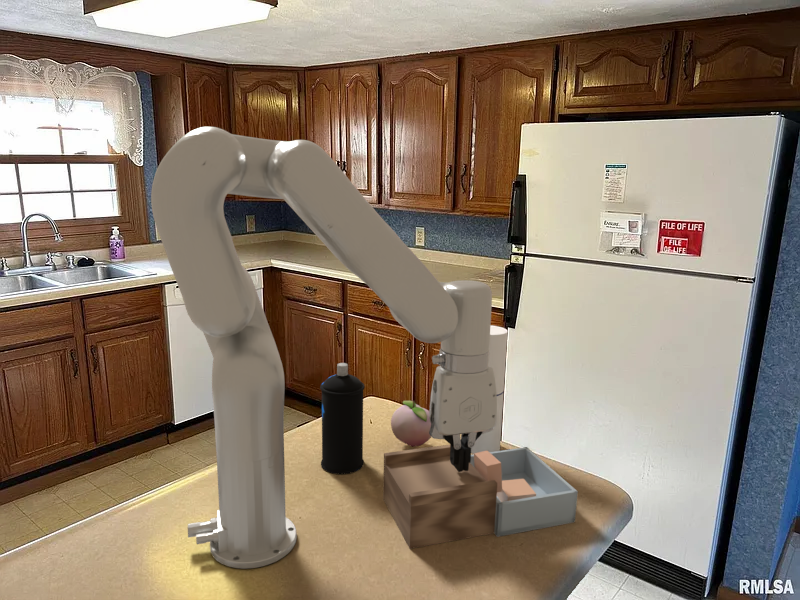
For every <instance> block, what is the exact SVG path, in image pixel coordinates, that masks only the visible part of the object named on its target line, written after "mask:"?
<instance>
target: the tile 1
mask: <svg viewBox="0 0 800 600" xmlns="http://www.w3.org/2000/svg"><path fill="white" fill-rule="evenodd" d="M474 466H475V469H476V470H477V471H478V472H479V473H480V474H481V475H482V477H483V478H484V479H485V480H486V481H491V480H495V481H496V482H497V492H501V491H502V472H501V462H500V461H499V460H497V459H496V458H495V457H494V456H493V455H492V454H491V453H490V452H489V451H483V452H478V453H474Z"/></svg>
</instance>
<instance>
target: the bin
mask: <svg viewBox="0 0 800 600" xmlns="http://www.w3.org/2000/svg"><path fill="white" fill-rule="evenodd" d="M490 453H491V454H492V455H493V456H494V457H495V458H496V459H497V460H499V461H500V462H501V472H502V481H504V480H514V479H525V481H526V482H527V483H528V484H529V486H530V487H531V488H532V489H533V490H534V492H535V493H536V496H535V497H529V498H523V499H517V500H511V501H505V502H501V501H500V500H499V498H498V497H497V498H496V513H495V529H494V533H493V534H495V536H496V537H497V538H498V537H503V536H504V537H505V536H508V535H515V534H520V533H525V532H530V531H537V530H540V529H545V528H550V527H551V528H552V527H556V526H562V525H567V524H573V523H575V522H576V513H577V505H578V504H577V501H578V493H579V491H578V490H577V489H576V488H575V487H574V486H572V485H571V483H569V482H567V480H565V479H564V478H563V477H562V476H561V475H559V474H558V472H556V471H555V470H554V469H553V468H552V467H550V466H549V465H548V464H547V463H546V462H545V461H543V460H542V459H541V458H540V457H539V456H538V455H537V454H535V452H533V451H532V450H531V449H530V448H529V447H528V446H524V447H518V448H509V449H504V450H500V451H495V452H490ZM470 463H471V464H472V465H473V467H474V468H475V466H474V454H473V453H472V454H471V462H470Z"/></svg>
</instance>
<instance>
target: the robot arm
mask: <svg viewBox="0 0 800 600" xmlns="http://www.w3.org/2000/svg"><path fill="white" fill-rule="evenodd" d="M150 194H151V195H150V196H151V197H150V201H151V210H152V216H153V220H154V223H155V226H156V230H157V232H158V235H159V237H160V240H161V243H162V246H163V248H164V252H165V254H166V257H167V260H168V262H169V265H170V269H171V271H172V274H173V276H174V280H175V282H176V284H177V286H178V289H179V292H180V294H181V296H182V300H183V303H184V306H185V310H186V313H187V315H188V316H189V319H190V320H191V322H192V323H193V324H194V326H195V327H196V328H197V329H199V330H200V331H201V332H202V333H203V335H204V337H205V340H206V343H207V345H208V347H209V350H210V351H211V352H210V353H211V354H212V358H213V360H212V370H211V392H212V393H211V395H212V404H213V405H212V407H213V417H214V419H213V420H214V436H215V438H214V439H215V451H216V466H217V467H216V469H217V473H216V474H217V490H218V491H217V492H218V508H219V509H217V510H216V516H217V517H211V518H210V520H208V521H198V522H197V521H196V522H192V523H187V537H188V538H189V539H190V538H196V539H195V540H196V545H200V544H201V545H202V544H206V543H209V549H210V553H211V555H212V557H213V558H214V560H215V561H216V562H219V563H220V564H221V565H225V566H226V567H230V568H234V569H254V568H255V569H256V568H260V567H261V568H262V567H264V566H265V567H266V566H269V565H271V564H273V563H276V562H277V561H279V560H281V559H283V558H284V557H285V556H286V555H288V554H289V553H290V552H291V551H292V550H293V548H294V547H295V545H296V543H297V538H298V537H297V529H296V525H295V524H294V523H293V521H292V520H291V519H289V518H288V517H287V516H286V513H287V512H286V483H285V482H286V480H285V479H286V477H285V474H286V473H285V469H286V468H285V433H284V432H285V431H284V429H285V428H284V427H285V426H284V424H285V423H284V414H285V413H284V410H285V389H286V388H285V387H286V386H285V385H286V384H285V372H284V367H283V363H282V360H281V357H280V352H279V350H278V346H277V344H276V341H275V338H274V335H273V333H272V330H271V328H270V325H269V323H268V320H267V317H266V313H265V311H264V308H263V305H262V303H261V301H260V298H259V294H258V292H257V289H256V286H255V283H254V280H253V278H252V277H251V274H250V273H249V272H248V270H247V269H246V268H245V267H244V266H243V264H242V263H241V261H240V258H239V256H238V253H237V249H236V247H235V244H234V240H233V237H232V234H231V232H230V229H229V226H228V223H227V220H226V217H225V211H224V203H225V199H226V197H227V195H237V196H244V197H245V196H246V197H254V198H255V197H256V198H262V199H263V198H264V199H274V200H275V199H279V200H283V201H285V202H286V204H287V205H288V206H289V207H290V208H291V209H292V211H294V212H295V214H296V215H297V216H298V217H299V218H300V219H301V220H302V221H303V222H304V224H305V225H306V226H307V227H308V228H309V229H310V230H311V231H312V232H313V234H315V236H316V237H317V238H318V239H319V240H320V241H321V243H323V244H324V246H325V247H327V249H328V250H329V251H330V252H331V254H332V255H333V256H334V257H335V258H336V259H337V260H338V261H339V262H340V263H341V264H342V265H343V266H344V267H345V268H346V270H348V271H349V272H350V273H352V274H353V275H355V276H356V277H357V278H358V279H360V280H361V281H362V282H363V283H364V284H365V285H367V286H368V287H369V289H370V290H372V291H373V292H374V293H375V294H376V296H377V297H378V298H379V299H380V300H381V301H382V302H384V304H385V305H386V306H387V307H388V309H389V312H390V314H391V316H392V317H393V319H394V320H395V321H396V322H398V323H397V324H399V325H400V326H402V327H403V328H404V329H405V330H406V331H407V332H408V333H409V334H411V335H412V337H414V338H415V339H417V340H418V341H420V342H423V343H426V344H437V343H440V348H439V352H438V353H437V354H435V355H432V357H431V360H432V361H431V362H432V364H433V365H438V366H437V367H436V369H435V372H434V376H433V381H432V386H431V392H430V400H429V401H430V402H429V418H430V423H431V427H430V431H429V434H430V436H431V438H432V439H435V440H445V441H446V442H447V443H448V445H450V462H451V464H452V465H453V466H454V467H455V468H456V469H457V471H458V472H462V471H463V470H464V471H468V469H469V463H470V462H471V455H472V453H471V448H472V447H473V446H474V445H475V441H476V440H477V439H478V438H479V437H480V436H481V434H484V433H487V432H489V431H492V430H493V427H495V425H496V422H497V394H496V383H495V376H494V371H493V368H492V367H490V366H488V365H489V344H490V325H491V324H492V307H493V306H492V303H493V302H492V301H493V292H492V289H491V287H490V286H489V285H488V284H487V283H485V282H482V281H478V280H470V279H469V280H466V279H464V280H454V281H453V280H452V281H448V282H447V281H445V282H443V281H439V280H438V279H437V278H436V277H435V275H434V274H433V273H432V272H431V271H430V270H429V268H427V266H426V265H425V264H424V263H423V262H422V260H421V259H419V258H418V256H417V255H416V254H415V253H414V252H413V251H412V250H411V248H409V247H408V246H407V244H406V243H405V242H403V240H402V239H401V238H400V237H399V235H398V234H397V233H396V232H395V230H393V228H392V227H391V226H390V225H389V224H388V223H387V222H386V221H385V220H384V219H383V218H382V217H381V215H380V214H379V213H378V212H377V211H376V210H375V208H374V207H373V206H372V205H371V204H370V202H369V201H368V199H366V198H365V197H364V196H363V194H362V193H361V192H360V191H359V190H358V189H357V187H356V186H355V185H354V183H353V182H352V181H351V180H350V179H349V177H348V176H347V175H346V174H345V172H344V171H343V170H342V168H340V167H339V166H338V164H337V163H336V162H335V161H334V159H333V158H332V157H331V156H330V155H329V154H328V153H327V152H326V151H325V150H324V149H323V147H321V146H320V145H318V144H317V143H315V142H313V141H312V140H311V141H310V140H307V139H306V140H305V139H294V140H291V141H287V140H275V139H266V138H261V137H260V138H258V137H252V136H245V135H239V134H232V133H230V132H229V131H227V130H225V129H222V128H220V127H216V126H201V127H197V128H195V129H193V130H190V131H189V132H187V133H186V134H185V135H183V136H182V137H181V138H180V139H178V140H177V142H175V143H174V144H173V145H172V147H171V148H170V149H169V150H168V151H167V152H166V154H165V155H164V157H163V158H162V159H161V161H160V163H159V165H158V166H157V169H156V171H155V173H154V177H153V181H152V186H151V193H150ZM492 416H493V417H492Z"/></svg>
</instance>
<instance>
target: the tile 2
mask: <svg viewBox="0 0 800 600" xmlns="http://www.w3.org/2000/svg"><path fill="white" fill-rule="evenodd" d="M535 496H536V493H535V492H534V490H533V489H532V488H531V487H530V486H529V484H528V483H527V482H526V481H525V479H514V480H504V481H502V491H501V492H497V497H498V498H499V500H500V501H501V502H505V501H511V500H517V499H523V498H529V497H535Z"/></svg>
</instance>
